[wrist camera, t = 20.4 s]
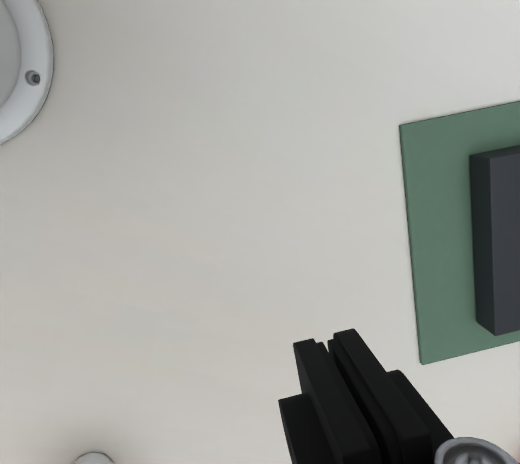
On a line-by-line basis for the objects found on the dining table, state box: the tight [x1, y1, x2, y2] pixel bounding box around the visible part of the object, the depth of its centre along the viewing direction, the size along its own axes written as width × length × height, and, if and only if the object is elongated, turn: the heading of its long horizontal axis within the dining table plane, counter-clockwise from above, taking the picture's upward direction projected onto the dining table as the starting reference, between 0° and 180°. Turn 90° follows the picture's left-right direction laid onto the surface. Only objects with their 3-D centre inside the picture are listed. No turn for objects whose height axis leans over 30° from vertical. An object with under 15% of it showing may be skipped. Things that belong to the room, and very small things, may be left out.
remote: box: [470, 145, 520, 336], centre depth 33 cm, size 14×3×5 cm
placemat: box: [399, 101, 520, 365], centre depth 35 cm, size 20×13×1 cm, turn 10°
